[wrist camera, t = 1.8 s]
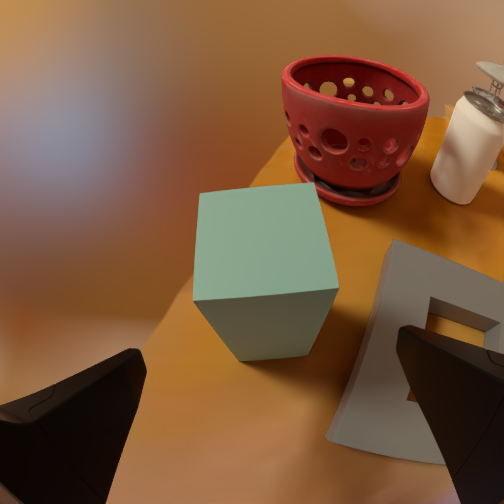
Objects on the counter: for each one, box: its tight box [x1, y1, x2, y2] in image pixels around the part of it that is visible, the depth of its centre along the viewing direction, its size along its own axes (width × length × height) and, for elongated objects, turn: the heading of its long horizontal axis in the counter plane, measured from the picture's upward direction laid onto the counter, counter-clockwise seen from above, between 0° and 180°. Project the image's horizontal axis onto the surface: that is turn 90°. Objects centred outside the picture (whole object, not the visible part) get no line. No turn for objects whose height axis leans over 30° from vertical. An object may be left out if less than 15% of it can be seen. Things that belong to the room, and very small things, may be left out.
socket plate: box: [324, 239, 504, 465], centre depth 16 cm, size 16×16×2 cm
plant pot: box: [281, 55, 429, 206], centre depth 24 cm, size 13×13×12 cm
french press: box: [472, 62, 504, 171], centre depth 20 cm, size 10×12×25 cm
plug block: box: [193, 183, 339, 361], centre depth 16 cm, size 5×5×12 cm
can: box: [430, 91, 504, 205], centre depth 22 cm, size 6×6×12 cm
